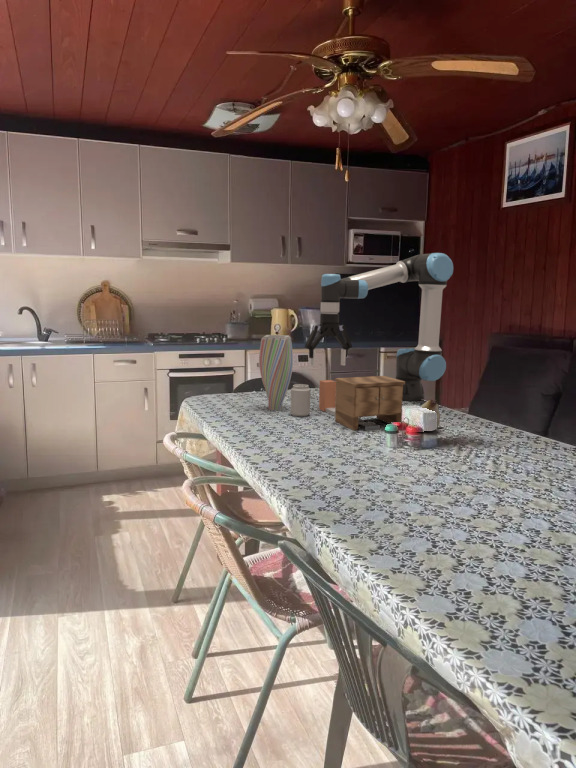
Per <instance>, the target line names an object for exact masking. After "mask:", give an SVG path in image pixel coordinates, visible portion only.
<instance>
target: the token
mask: <svg viewBox="0 0 576 768" xmlns="http://www.w3.org/2000/svg"><path fill="white" fill-rule="evenodd" d="M358 429H360V430H362V431H364V432H368V431H371V432H372V431H379V430H381V425H379V424H377V423H375V422H373V421H364V422H362V423H358Z"/></svg>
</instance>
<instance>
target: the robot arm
mask: <svg viewBox="0 0 576 768" xmlns="http://www.w3.org/2000/svg"><path fill="white" fill-rule="evenodd" d="M453 273H454V264H453V261H452V259H451V258H450V256H448V255H447V254H446V253H444V252H443V253H442V252H431V253H430V252H429V253H420V254H417V255H414V256H411V257H408V258H405V259H402V260H399V261H397V262H396V264H393V265H389V266H384V267H381V268H378V269H374V270H370V271H366V272H362V273H359V274H358V273H357V274H354V275H351V276H348V277H343V278H342V277H341V274H336V273H324V274H322V275H321V281H320V283H321V284H320V314H319V315H320V316H319V321H320V323H319V325H316V324H313V325H312V329H311V332H310V335H309V336H308V339H307V341H306V343H305V344H304V349H307V350H308V358H309V359H310V367H314V368H315V367H316V355H317V354H316V352H317V351H316V350H315V349H316V348H317V346H318V344H319V343H320V342H321V341H322V339H324V338H326V337H334V338H335V339H336V341H337V342H338V343H339V344H340V346H341V350H340V366H346V358H347V357H348V350H350V348H351V349H352V348H353V344H352V342H351V339H350V337H349V334H348V332H347V327H346V325H344V324H340V325H339V323H340V314H339V313H340V302H341V301H340V299H353V300H354V299H357V300H358V299H365V298H366V297H367V296H368V293H369V290H372V289H376V288H380V287H385V286H387V285H391V284H395V283H398V282H399V283H403V284H404V283H408V282H418V286H419V287H420V289H421V300H420V313H419V315H420V316H419V328H418V329H419V330H418V344H417V346H416V347H413V348H399V349H398V350H397V351H396V357H395V358H396V363H395V379H397V380H401V381H405V384H403V397H402V401H406V402H407V401H409V402H410V401H411V402H412V401H415V402H416V401H423V400H425V392H424V386H423V383H422V380H423V381H425V382H426V381H429V382H433V381H434V382H435V381H437V380H439V379H440V378H441V377H443V375H444V374H445V372H446V369H447V362H446V359H445V357H443V356H442V354H443V353H442V351H443V350H442V348H441V347H440V344H439V343H440V332H441V331H440V330H441V319H442V318H441V317H442V316H441V315H442V306H443V305H442V304H443V303H442V302H443V291H444V289H445V288H446V287H447V285H448V284H447V283H448V280H449V279H450V278H451V277H453ZM318 331H320V332H319V333H318ZM339 331H340V333H341V335H340V333H339ZM317 334H318V335H317ZM316 336H317V337H316ZM315 337H316V338H315ZM342 337H343V338H342Z"/></svg>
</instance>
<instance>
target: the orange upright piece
mask: <svg viewBox="0 0 576 768" xmlns="http://www.w3.org/2000/svg"><path fill="white" fill-rule="evenodd" d="M318 393H319V394H318V395H319V399H318V401H319V402H318V410H320V411H322V412H326V413H328V414H330V415H332V416H334V417H335V408H336V381H335V380H332V379H323V380H321V379H320V380H319V391H318ZM362 422H365V421H364V419H362V418H361V417H358V423H362Z"/></svg>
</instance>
